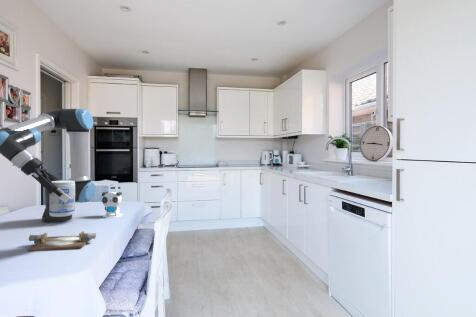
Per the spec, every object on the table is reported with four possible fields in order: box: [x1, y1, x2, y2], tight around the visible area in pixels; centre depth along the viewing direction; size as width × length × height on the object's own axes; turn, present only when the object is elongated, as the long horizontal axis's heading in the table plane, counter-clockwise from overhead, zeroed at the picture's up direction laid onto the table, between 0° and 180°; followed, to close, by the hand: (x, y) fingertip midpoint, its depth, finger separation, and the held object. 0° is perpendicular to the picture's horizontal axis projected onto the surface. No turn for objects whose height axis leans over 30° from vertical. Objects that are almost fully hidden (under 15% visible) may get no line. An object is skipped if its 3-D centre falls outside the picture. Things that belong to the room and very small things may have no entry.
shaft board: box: [27, 231, 97, 252], centre depth 124 cm, size 16×26×5 cm, turn 100°
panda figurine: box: [101, 191, 123, 219], centre depth 177 cm, size 12×11×15 cm
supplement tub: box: [49, 181, 76, 217], centre depth 123 cm, size 10×10×15 cm
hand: (70, 198), depth 125 cm, fingers closed on supplement tub, 10 cm apart
